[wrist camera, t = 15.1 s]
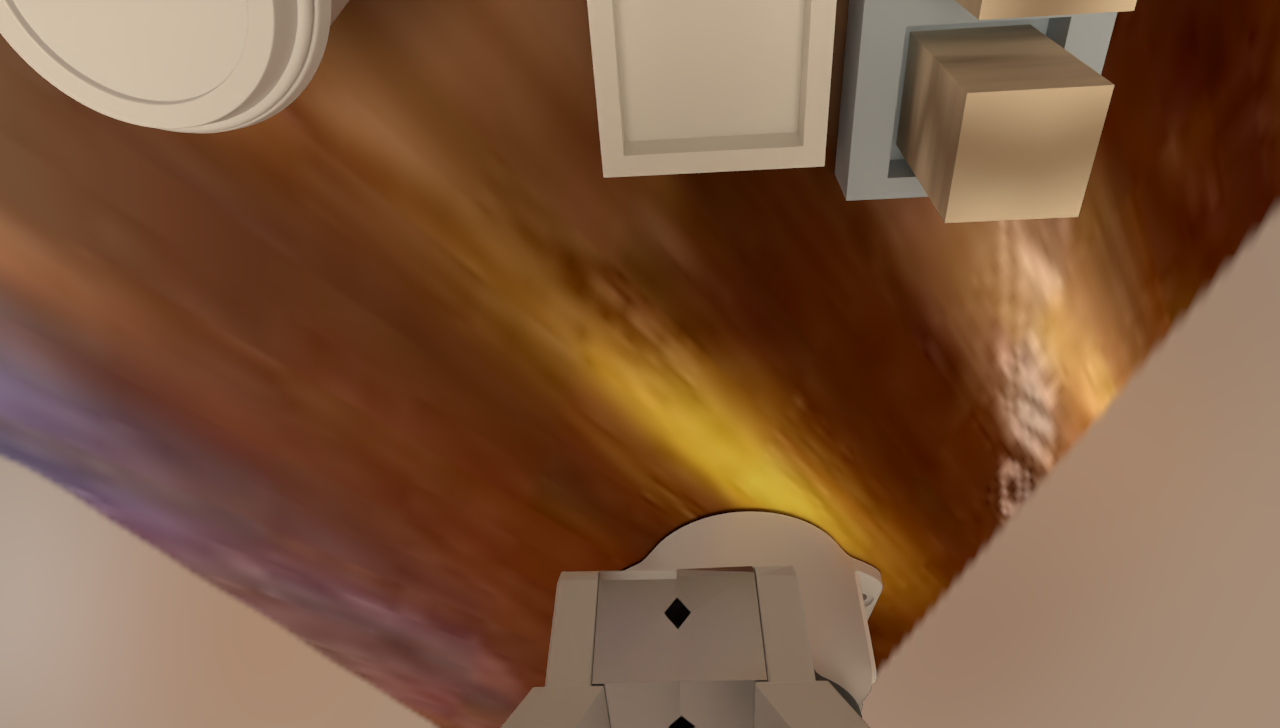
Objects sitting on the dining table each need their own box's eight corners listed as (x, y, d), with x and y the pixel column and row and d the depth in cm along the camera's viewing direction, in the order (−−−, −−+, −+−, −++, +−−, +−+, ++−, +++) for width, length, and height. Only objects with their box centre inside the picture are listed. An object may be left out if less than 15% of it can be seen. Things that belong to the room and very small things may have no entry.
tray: (815, 145, 39) (824, 166, 37) (606, 156, 40) (603, 177, 38) (833, -122, 33) (845, -114, 31) (582, -105, 33) (577, -95, 31)
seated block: (1006, 138, 38) (1078, 216, 32) (896, 144, 38) (944, 223, 32) (1030, 24, 35) (1114, 84, 29) (910, 31, 35) (966, 93, 29)
